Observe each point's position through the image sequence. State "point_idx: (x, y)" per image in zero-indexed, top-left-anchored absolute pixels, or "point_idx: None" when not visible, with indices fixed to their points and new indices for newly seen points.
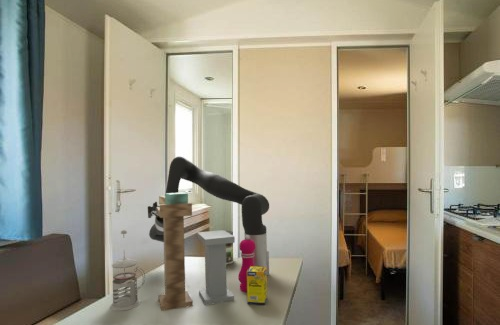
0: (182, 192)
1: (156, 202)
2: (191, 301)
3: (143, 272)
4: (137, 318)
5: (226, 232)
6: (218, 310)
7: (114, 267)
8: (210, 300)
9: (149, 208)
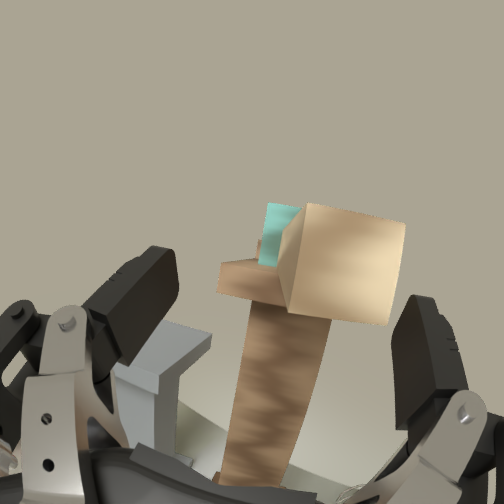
0: (270, 203)
1: (413, 303)
2: (218, 472)
3: (343, 499)
4: (332, 486)
5: None
6: (188, 438)
7: None
8: (181, 455)
9: (493, 425)
